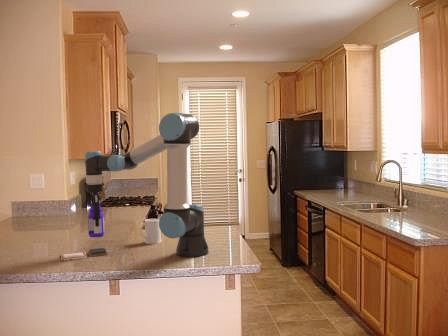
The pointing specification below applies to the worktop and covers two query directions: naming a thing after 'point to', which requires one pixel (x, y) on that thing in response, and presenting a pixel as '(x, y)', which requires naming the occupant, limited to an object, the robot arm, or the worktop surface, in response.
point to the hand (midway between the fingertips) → (96, 231)
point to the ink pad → (97, 252)
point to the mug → (152, 231)
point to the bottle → (91, 223)
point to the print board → (73, 255)
